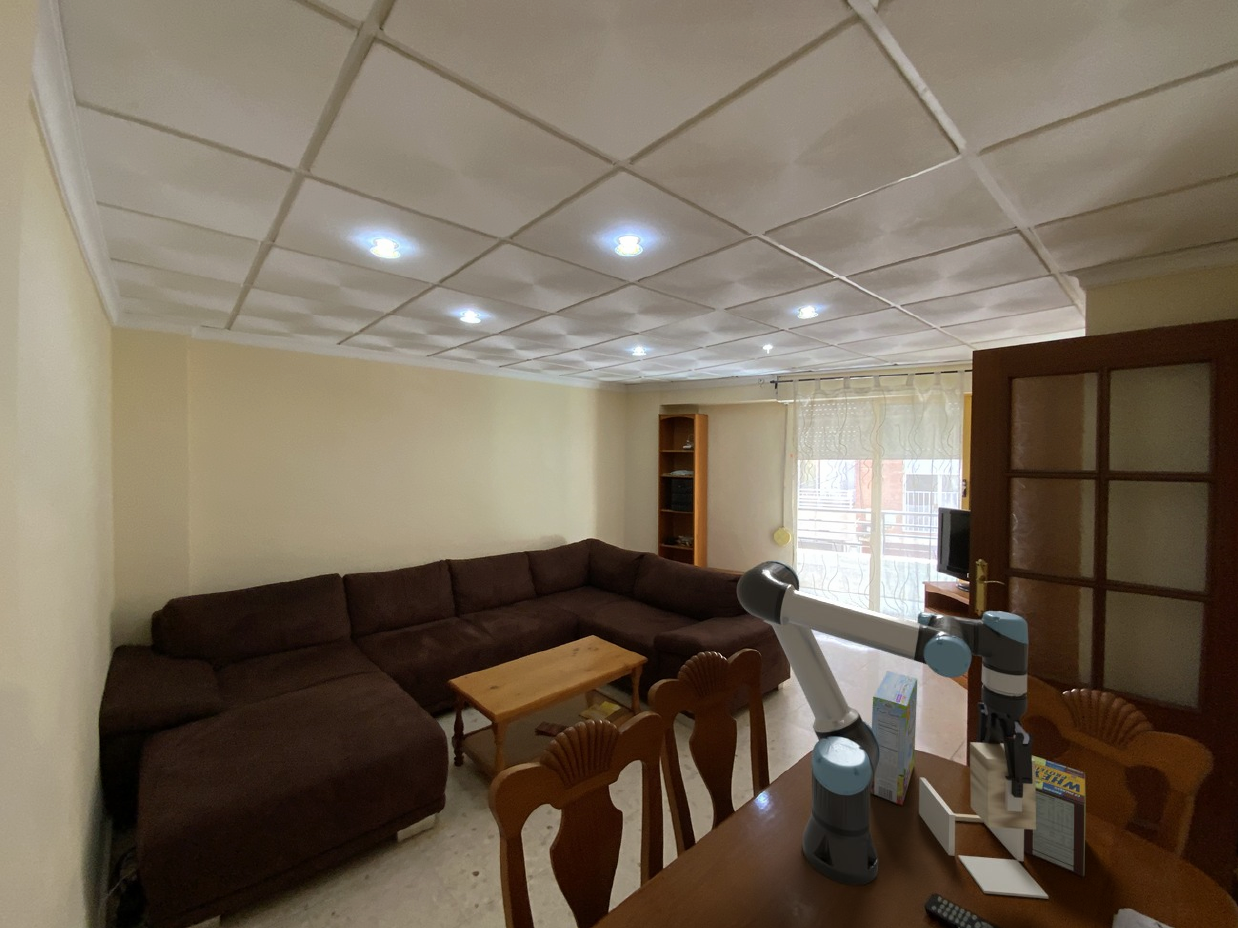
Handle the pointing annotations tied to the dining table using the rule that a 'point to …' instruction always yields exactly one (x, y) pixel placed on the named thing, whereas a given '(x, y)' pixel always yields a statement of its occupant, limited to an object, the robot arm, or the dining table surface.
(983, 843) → the dining table surface
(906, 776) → the snack box
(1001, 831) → the shelf bay
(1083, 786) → the protein box
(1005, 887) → the felt mat
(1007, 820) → the block
